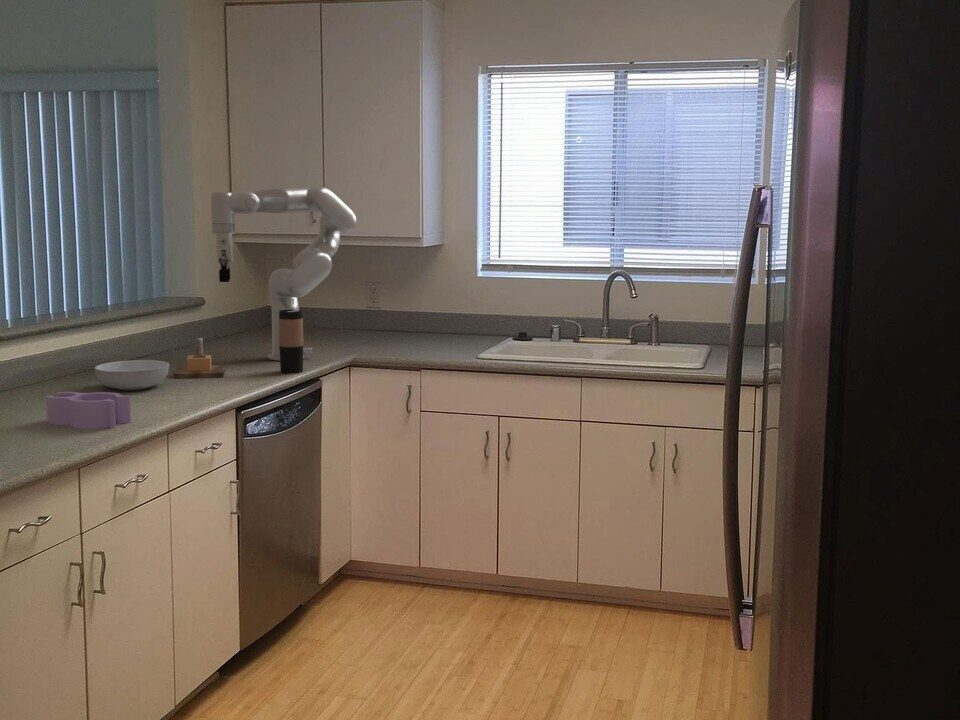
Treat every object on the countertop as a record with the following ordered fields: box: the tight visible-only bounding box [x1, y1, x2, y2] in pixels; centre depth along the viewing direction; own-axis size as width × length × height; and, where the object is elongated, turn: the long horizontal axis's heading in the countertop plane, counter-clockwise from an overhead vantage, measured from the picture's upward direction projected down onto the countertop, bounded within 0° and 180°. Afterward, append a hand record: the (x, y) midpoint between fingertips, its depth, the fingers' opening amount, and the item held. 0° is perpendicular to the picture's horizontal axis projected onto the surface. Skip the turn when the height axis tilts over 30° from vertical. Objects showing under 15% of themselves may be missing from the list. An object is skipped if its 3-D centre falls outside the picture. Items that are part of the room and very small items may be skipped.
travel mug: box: [279, 309, 304, 374], centre depth 341 cm, size 8×8×20 cm
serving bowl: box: [94, 359, 170, 391], centre depth 311 cm, size 21×21×7 cm
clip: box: [45, 391, 132, 430], centre depth 262 cm, size 20×12×7 cm, turn 76°
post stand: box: [173, 337, 226, 379], centre depth 335 cm, size 15×15×12 cm
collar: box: [186, 354, 212, 371], centre depth 336 cm, size 7×7×4 cm
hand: (224, 280), depth 352 cm, fingers open, 9 cm apart
